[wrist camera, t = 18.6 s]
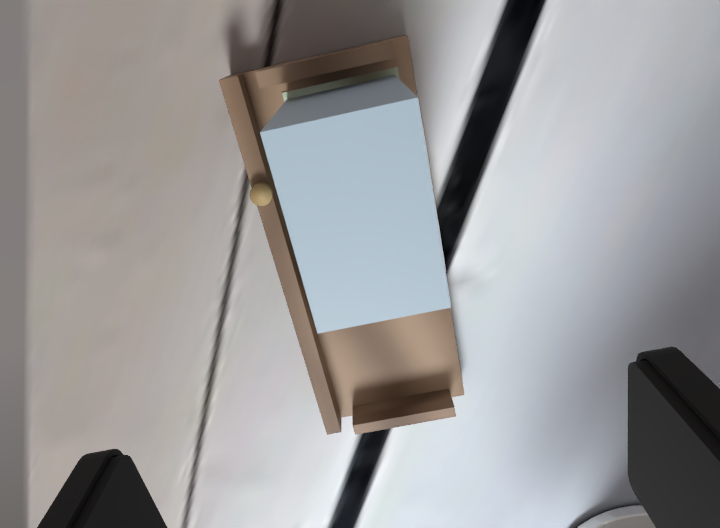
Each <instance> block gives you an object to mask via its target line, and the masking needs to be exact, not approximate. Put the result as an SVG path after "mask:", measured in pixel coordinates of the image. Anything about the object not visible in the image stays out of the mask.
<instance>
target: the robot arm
mask: <svg viewBox="0 0 720 528" xmlns="http://www.w3.org/2000/svg"><path fill="white" fill-rule="evenodd" d="M628 476H629V481H630V484H631V486H632V489H633V491H634V493H635V495H636V496H637V498H638V500H639V501H640V503H641V504H642V505H637V506H627V507H621V508H617V509H613V510H610V511H607V512H604V513H601V514H599V515H597V516H595V517H592V518H591V519H589V520H587V521H586V522H584V523H583V524H581V525H580V526H578V527H577V528H720V389H719V388H718V387H717V386H716V385H715V384H714V383H713V382H712V381H711V380H710V379H709V378H708V377H707V376H706V375H705V374H704V373H703V372H702V371H700V370H699V369H698V368H697V367H696V366H695V365H694V364H693V363H692V362H691V361H690V360H689V359H688V358H687V357H686V356H685V355H684V354H683V353H682V352H681V351H680V350H678V349H677V348H675V347H668V348H663V349H657V350H652V351H646V352H641V353H639V354H638V356H637V360H636V362H633V363H630V364H629V366H628ZM37 528H167V526H166V524H165V522H164V521H163V519H162V517H161V515H160V513H159V511H158V509H157V507H156V505H155V503H154V501H153V499H152V497H151V495H150V493H149V491H148V489H147V488H146V486H145V484H144V482H143V480H142V478H141V476H140V474H139V472H138V470H137V468H136V466H135V464H134V462H133V460H132V459H131V457H130V456H128V455H123V454H122V452H121V451H119V450H118V449H111V450H106V451H100V452H95V453H89V454H86V455H84V456H82V458H81V459H80V460H79V461H78V463H77V465H76V466H75V468H74V469H73V471H72V473H71V474H70V476H69V477H68V479H67V481H66V482H65V484H64V485H63V487H62V489H61V490H60V492H59V494H58V495H57V497H56V498H55V500H54V502H53V503H52V505H51V506H50V508H49V510H48V511H47V513H46V514H45V516H44V518H43V519H42V521H41V522H40V524H39V526H38V527H37Z"/></svg>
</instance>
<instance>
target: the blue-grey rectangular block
mask: <svg viewBox="0 0 720 528" xmlns="http://www.w3.org/2000/svg"><path fill="white" fill-rule="evenodd" d="M260 135H261V138H262V142H263V145H264V149H265V152H266V156H267V159H268V163H269V166H270V170H271V173H272V177H273V180H274V184H275V187H276V190H277V194H278V197H279V201H280V204H281V208H282V211H283V215H284V218H285V222H286V225H287V229H288V232H289V236H290V239H291V243H292V246H293V250H294V253H295V257H296V260H297V264H298V267H299V271H300V274H301V278H302V281H303V285H304V288H305V292H306V295H307V299H308V302H309V306H310V309H311V313H312V316H313V320H314V323H315V327H316V330H317V334H318V333H323V332H329V331H334V330H339V329H344V328H349V327H354V326H359V325H364V324H370V323H375V322H380V321H385V320H390V319H395V318H400V317H406V316H411V315H416V314H421V313H426V312H431V311H436V310H441V309H447V308H451V302H450V296H449V290H448V283H447V277H446V267H445V261H444V255H443V248H442V242H441V235H440V229H439V223H438V216H437V210H436V204H435V197H434V191H433V185H432V178H431V172H430V166H429V159H428V153H427V147H426V140H425V134H424V128H423V123H422V119H421V113H420V106H419V100H418V97H417V96H416V95H415V94H414V93H413V92H412V91H411V90H410V89H409V88H408V87H407V86H406V85H405V84H404V83H403V82H402V81H401V80H400V79H399V78H398V77H397V76H396V75H392V76H387V77H383V78H378V79H374V80H370V81H365V82H361V83H356V84H352V85H347V86H343V87H338V88H334V89H330V90H325V91H321V92H316V93H312V94H307V95H303V96H298V97H294V98H289V99H287V100H286V101H285V102H284V104H283V105H282V106H281V107H280V108H279V110H278V111H277V112H276V113H275V115H274V116H273V117H272V118H271V119H270V121H269V122H268V123H267V124H266V126H265V127H264V128H263V129H262V130H261V132H260Z"/></svg>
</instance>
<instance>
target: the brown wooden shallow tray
mask: <svg viewBox="0 0 720 528" xmlns="http://www.w3.org/2000/svg"><path fill="white" fill-rule="evenodd" d="M392 75H396V76H397V77H398V78H399V79H400V80H401V81H402V82H403V83H404V84H405V85H406V86H407V87H408V88H409V89H410V90H411V91H412V92H413V93H414V94H415V95H416V96H417V92H416V85H415V79H414V73H413V66H412V60H411V54H410V47H409V41H408V36H405V35H404V36H400V37H396V38H391V39H387V40H382V41H378V42H374V43H369V44H365V45H361V46H356V47H352V48H347V49H343V50H339V51H334V52H330V53H326V54H321V55H317V56H312V57H308V58H304V59H299V60H295V61H291V62H286V63H282V64H277V65H273V66H269V67H264V68H260V69H256V70H251V71H247V72H242V73H238V74H234V75H230V76H227V77H225V78H223V79H220V80H219V82H220V85H221V89H222V92H223V95H224V99H225V102H226V105H227V108H228V112H229V115H230V118H231V121H232V125H233V128H234V131H235V135H236V138H237V141H238V144H239V148H240V151H241V154H242V157H243V161H244V164H245V167H246V171H247V174H248V177H249V180H250V184H251V187H252V189H251V191H250V198H251V200H252V202H253V203H254V204H256V205H257V207H258V210H259V213H260V216H261V220H262V223H263V226H264V230H265V233H266V236H267V239H268V243H269V246H270V249H271V252H272V256H273V259H274V262H275V266H276V269H277V272H278V275H279V279H280V282H281V285H282V288H283V292H284V295H285V298H286V302H287V305H288V308H289V311H290V315H291V318H292V321H293V324H294V328H295V331H296V334H297V338H298V341H299V344H300V347H301V351H302V354H303V357H304V360H305V364H306V367H307V370H308V374H309V377H310V380H311V383H312V387H313V390H314V393H315V396H316V400H317V403H318V406H319V410H320V413H321V416H322V419H323V423H324V426H325V429H326V432H327V434H333V433H338V432H341V417H346V416H352V415H353V428H354V432H355V434H361V433H366V432H372V431H377V430H383V429H388V428H394V427H399V426H405V425H411V424H416V423H422V422H427V421H433V420H438V419H444V418H449V417H455V416H456V414H455V408H454V404H453V401H452V397H455V396H461V395H464V389H463V383H462V377H461V370H460V364H459V358H458V351H457V345H456V339H455V332H454V326H453V320H452V313H451V308H447V309H441V310H436V311H431V312H426V313H421V314H416V315H411V316H406V317H400V318H395V319H390V320H385V321H380V322H375V323H370V324H364V325H359V326H354V327H349V328H344V329H339V330H334V331H329V332H323V333H318V334H317V330H316V327H315V323H314V320H313V316H312V313H311V309H310V306H309V302H308V299H307V295H306V292H305V288H304V285H303V281H302V278H301V274H300V271H299V267H298V264H297V260H296V257H295V253H294V250H293V246H292V243H291V239H290V236H289V232H288V229H287V225H286V222H285V218H284V215H283V211H282V208H281V204H280V201H279V197H278V194H277V190H276V187H275V184H274V180H273V177H272V173H271V170H270V166H269V163H268V159H267V156H266V152H265V149H264V145H263V142H262V138H261V135H260V132H261V130H262V129H263V128H264V127H265V126H266V124H267V123H268V122H269V121H270V119H271V118H272V117H273V116H274V115H275V113H276V112H277V111H278V110H279V108H280V107H281V106H282V105H283V104H284V102H285V101H286V100H287V99H289V98H294V97H298V96H303V95H307V94H312V93H316V92H321V91H325V90H330V89H334V88H338V87H343V86H347V85H352V84H356V83H361V82H365V81H370V80H374V79H378V78H383V77H387V76H392Z"/></svg>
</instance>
